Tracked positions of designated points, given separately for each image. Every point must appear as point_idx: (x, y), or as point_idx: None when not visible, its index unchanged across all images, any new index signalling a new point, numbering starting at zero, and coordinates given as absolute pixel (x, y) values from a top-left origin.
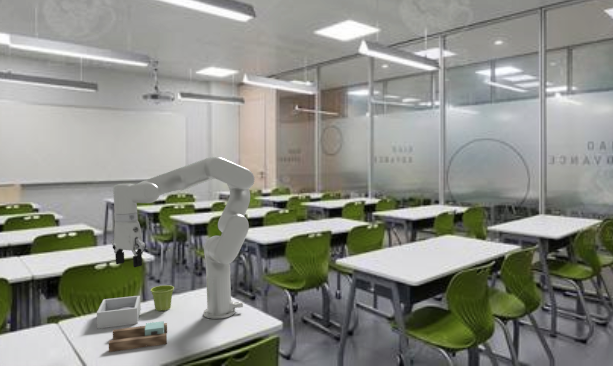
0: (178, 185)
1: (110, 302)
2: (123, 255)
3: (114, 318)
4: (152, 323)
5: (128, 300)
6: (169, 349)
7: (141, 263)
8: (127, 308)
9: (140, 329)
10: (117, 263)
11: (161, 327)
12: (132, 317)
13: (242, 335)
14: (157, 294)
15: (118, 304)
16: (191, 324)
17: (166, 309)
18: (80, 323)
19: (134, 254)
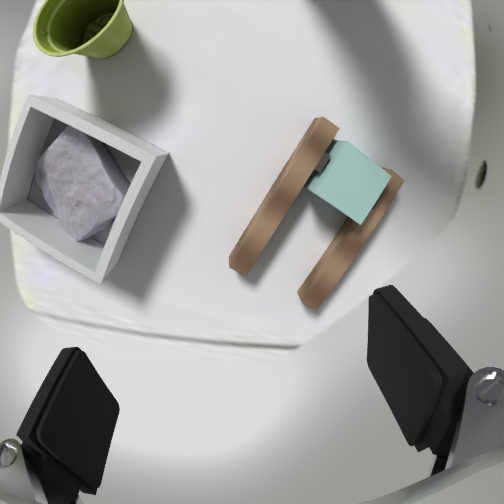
0: None
1: (8, 195)
2: (56, 413)
3: (128, 225)
4: (334, 178)
5: (25, 137)
6: (418, 191)
7: (400, 299)
8: (64, 153)
9: (291, 201)
10: (117, 410)
11: (387, 180)
12: (155, 169)
13: (470, 47)
14: (97, 39)
15: (20, 169)
16: (327, 42)
17: (131, 29)
18: (53, 277)
19: (443, 456)
